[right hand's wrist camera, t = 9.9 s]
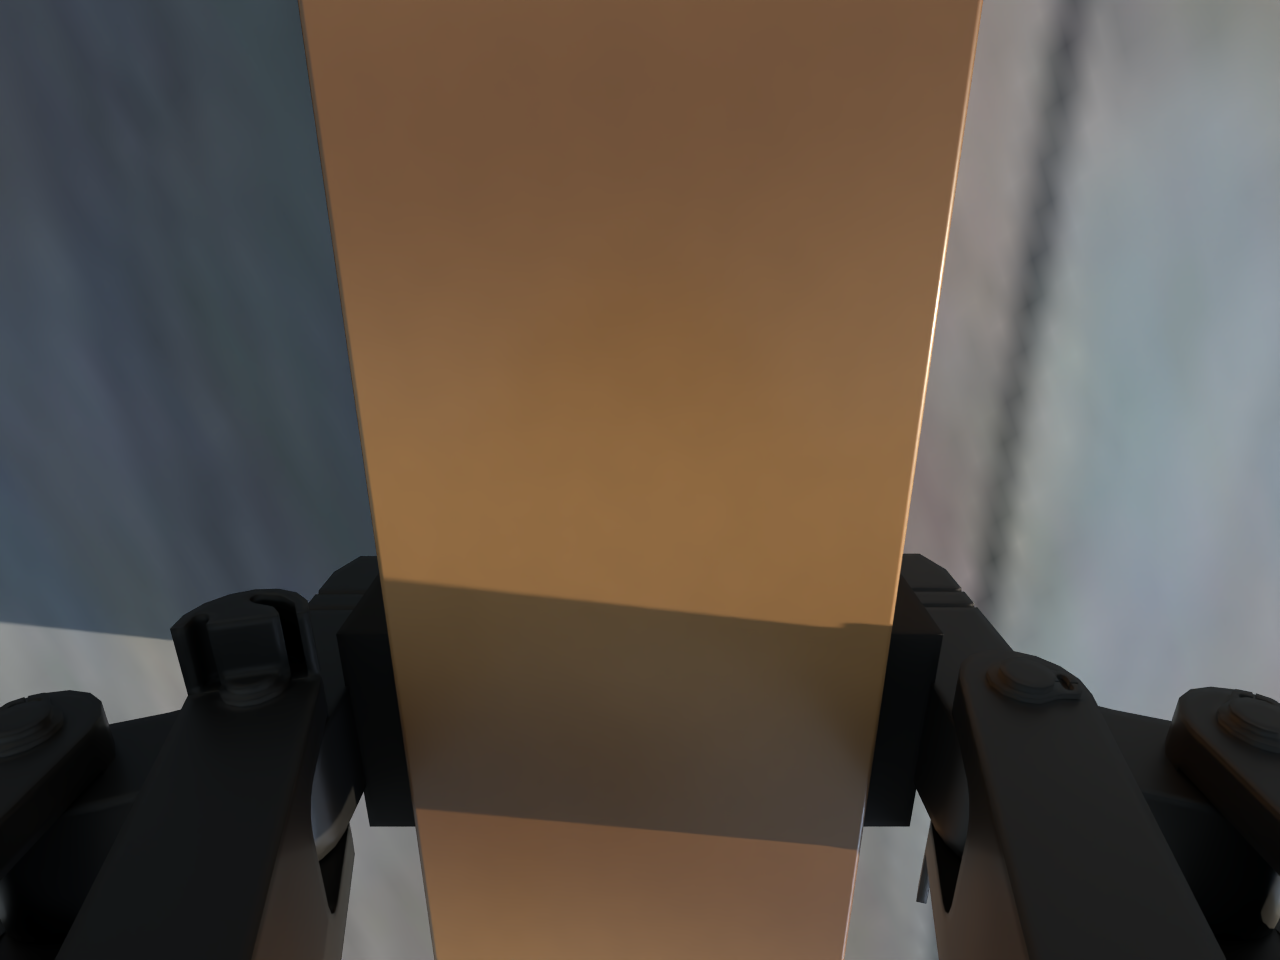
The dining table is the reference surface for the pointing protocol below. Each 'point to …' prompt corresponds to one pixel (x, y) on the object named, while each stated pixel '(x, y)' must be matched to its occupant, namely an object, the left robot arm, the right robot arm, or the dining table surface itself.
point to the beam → (639, 439)
